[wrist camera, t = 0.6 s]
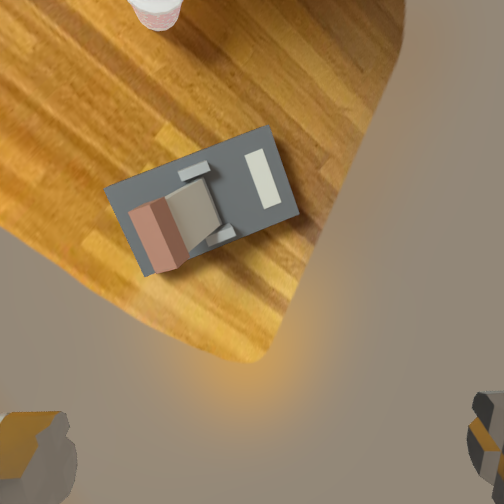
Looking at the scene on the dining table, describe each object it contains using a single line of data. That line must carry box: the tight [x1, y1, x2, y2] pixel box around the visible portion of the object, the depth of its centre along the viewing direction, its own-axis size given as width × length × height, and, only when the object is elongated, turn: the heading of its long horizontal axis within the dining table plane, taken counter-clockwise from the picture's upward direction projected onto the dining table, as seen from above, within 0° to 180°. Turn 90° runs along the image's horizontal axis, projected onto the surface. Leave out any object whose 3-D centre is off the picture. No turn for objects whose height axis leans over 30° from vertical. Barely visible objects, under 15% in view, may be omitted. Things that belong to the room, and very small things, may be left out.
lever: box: [128, 177, 222, 274], centre depth 40 cm, size 6×2×12 cm
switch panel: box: [104, 125, 299, 277], centre depth 47 cm, size 10×18×8 cm, turn 111°
